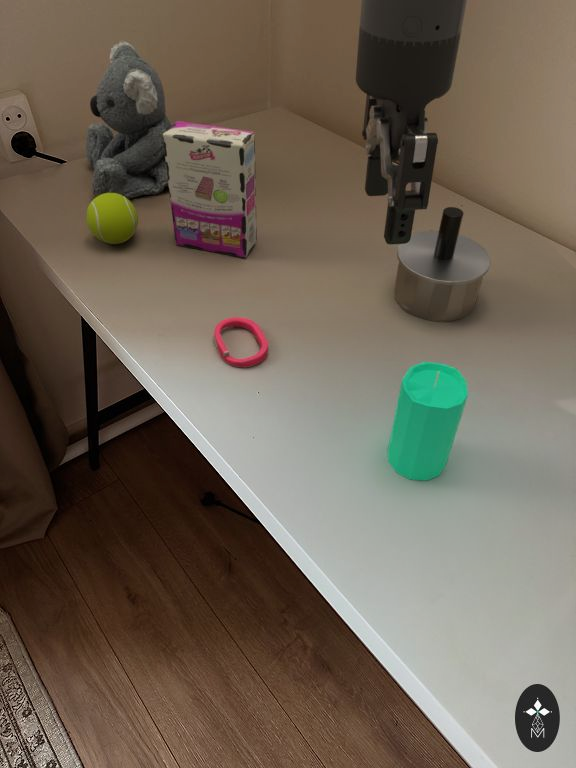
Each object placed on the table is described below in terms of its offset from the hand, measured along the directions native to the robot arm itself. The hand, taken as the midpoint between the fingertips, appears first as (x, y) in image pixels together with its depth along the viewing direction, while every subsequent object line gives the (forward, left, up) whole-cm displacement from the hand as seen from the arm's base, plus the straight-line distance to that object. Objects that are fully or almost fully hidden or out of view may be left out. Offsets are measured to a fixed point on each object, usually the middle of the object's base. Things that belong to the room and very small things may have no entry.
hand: (385, 216), depth 58 cm
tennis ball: (+25, -36, -21) cm, 49 cm away
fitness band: (+12, -9, -21) cm, 26 cm away
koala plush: (+19, -55, -21) cm, 62 cm away
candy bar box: (+11, -32, -21) cm, 40 cm away
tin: (-15, -13, -21) cm, 28 cm away
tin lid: (-15, -13, -15) cm, 24 cm away
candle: (-2, +12, -21) cm, 24 cm away
